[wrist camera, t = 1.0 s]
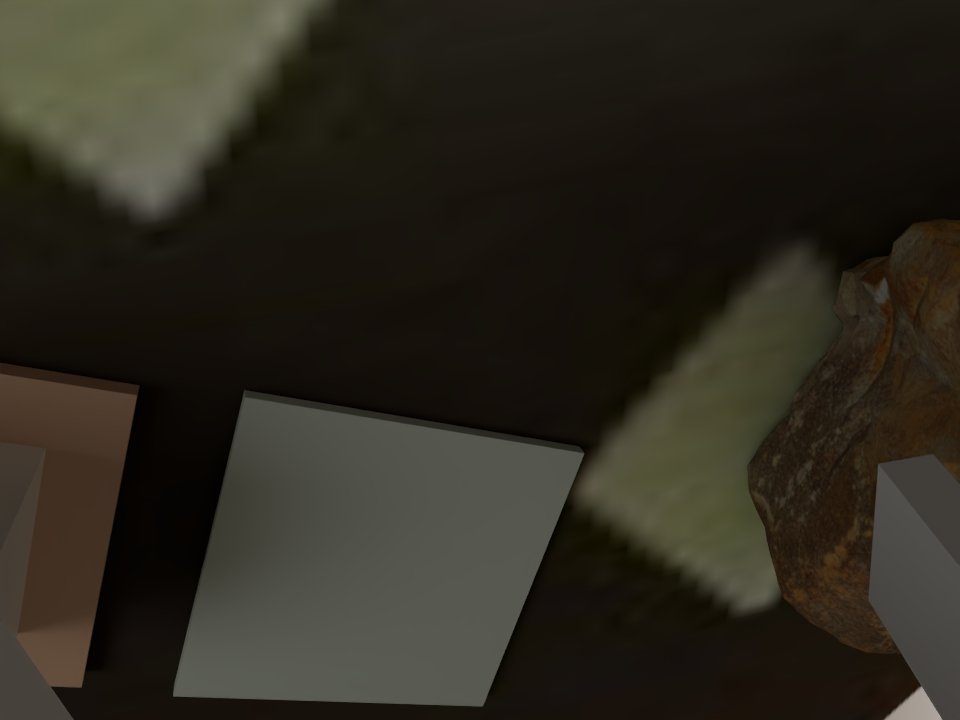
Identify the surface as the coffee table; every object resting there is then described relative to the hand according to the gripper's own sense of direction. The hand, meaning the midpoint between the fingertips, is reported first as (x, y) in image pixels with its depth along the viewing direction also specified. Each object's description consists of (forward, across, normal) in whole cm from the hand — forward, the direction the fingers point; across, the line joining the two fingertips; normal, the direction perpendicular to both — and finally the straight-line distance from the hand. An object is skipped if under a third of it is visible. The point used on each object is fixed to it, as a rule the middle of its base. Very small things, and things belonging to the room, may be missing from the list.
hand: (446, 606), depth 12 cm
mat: (+16, -6, -14) cm, 22 cm away
